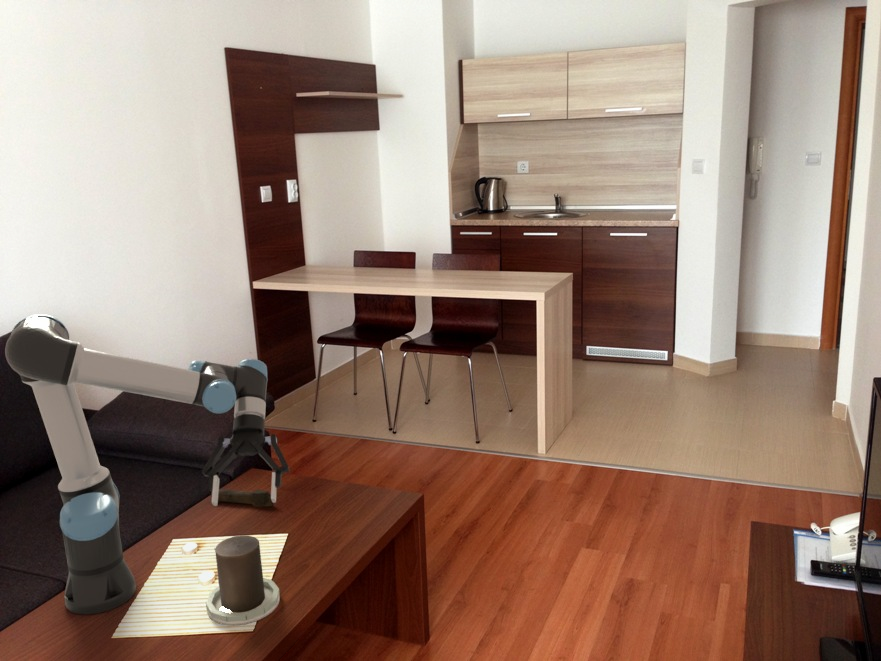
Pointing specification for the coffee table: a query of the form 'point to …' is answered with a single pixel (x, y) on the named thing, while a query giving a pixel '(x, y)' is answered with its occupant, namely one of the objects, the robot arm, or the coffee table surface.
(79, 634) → the coffee table surface
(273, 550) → the coffee table surface
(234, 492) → the dark brown bark log
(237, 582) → the pillar candle
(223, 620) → the candle plate
